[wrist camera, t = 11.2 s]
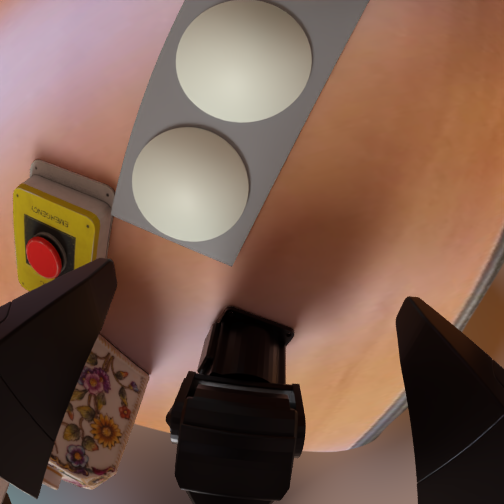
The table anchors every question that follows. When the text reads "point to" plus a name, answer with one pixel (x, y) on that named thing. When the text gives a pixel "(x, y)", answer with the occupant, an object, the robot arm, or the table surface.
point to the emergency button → (59, 223)
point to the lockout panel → (226, 115)
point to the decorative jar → (97, 419)
